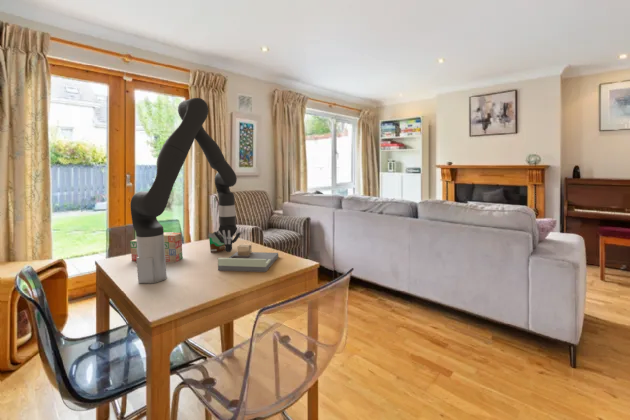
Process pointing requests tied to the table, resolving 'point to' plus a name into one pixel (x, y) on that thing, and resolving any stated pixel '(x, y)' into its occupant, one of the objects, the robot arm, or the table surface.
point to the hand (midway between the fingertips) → (228, 251)
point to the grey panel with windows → (248, 262)
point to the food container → (215, 244)
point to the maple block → (244, 249)
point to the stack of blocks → (171, 247)
